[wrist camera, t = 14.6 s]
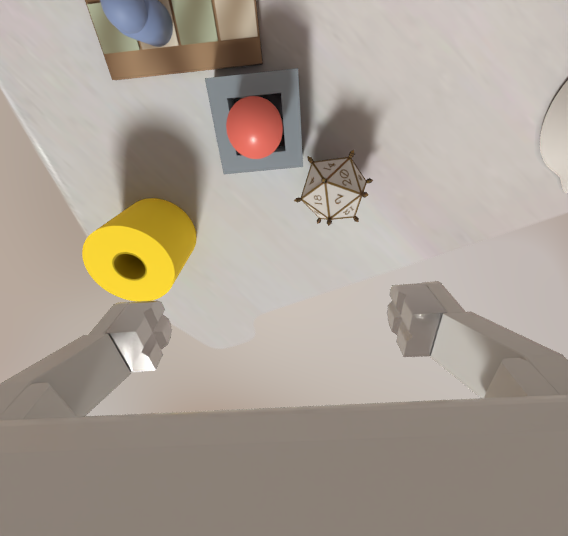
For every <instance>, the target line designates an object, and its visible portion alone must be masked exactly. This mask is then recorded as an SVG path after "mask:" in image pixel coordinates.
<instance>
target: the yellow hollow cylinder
mask: <svg viewBox="0 0 568 536" xmlns="http://www.w3.org/2000/svg"><path fill="white" fill-rule="evenodd" d="M195 244H196V231H195V227H194V225H193V223H192V221H191V219H190V218H189V217H188V215H187V214H186V213H185V212H184V211H183V210H182V209H180V208H179V207H178V206H176V205H175V204H173V203H171V202H168V201H166V200H162V199H157V198H148V199H143V200H140V201H138V202H136V203H134V204H133V205H131V206H130V207H128V208H127V209H126V210H124V211H123V212H121V213H120V214H118V215H117V216H116V217H114V218H113V219H111V220H110V221H108V222H107V223H106V224H104V225H103V226H101V227H100V228H98V229H97V230H96V231H94V232H93V233H91V234H90V235H89V236H88V238H87V239H86V241H85V243H84V245H83V251H82V255H83V261H84V265H85V267H86V269H87V271H88V273H89V274H90V275H91V277H92V278H93V279H94V280H95V281H96V283H97V284H99V285H100V286H101V287H102V288H103V289H105V290H106V291H108V292H110V293H111V294H113V295H115V296H118V297H120V298H123V299H127V300H131V301H151V300H155V299H158V298H160V297H162V296H163V295H165V294H166V293H167V292H168V291H169V290H170V288H171V287H172V285H173V283H174V282H175V280H176V278H177V277H178V275H179V273H180V272H181V270H182V268H183V266H184V265H185V263H186V261H187V260H188V258H189V256H190V255H191V253H192V251H193V250H194V247H195Z"/></svg>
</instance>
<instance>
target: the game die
mask: <svg viewBox="0 0 568 536" xmlns="http://www.w3.org/2000/svg"><path fill="white" fill-rule="evenodd" d="M353 155H355V154H354V150H353V151H351V152H350V154H349V157H345V158H337V159H330V160H322V161H315V162H314V161H313V159H312V157H309V156H308V161H309V162H310V163H311V166H310V170H309V173H308V176H307V179H306V183H305V186H304V189H303V192H302V196H301V198H296V199H295V200H294V201H296V202H297V203H298V202H300V201H303V202H304V203H305V204H306V205H307V206H308V207H309V208H310V209H311V210H312V211H313V212H314V213H315V214H316V215H317V216H318V217H319V218H318V220H317V224H318V223H320V222H321V219H327V224H328V226H329V225H330V224H331V222H332V221H331V220H333V219H343V218H352V217H353V218H354V220H355V221H356V222H359V221H358V219H359V218H357V217H356V216H355V215H356V212H357V209H358V206H359V204H360V201H361V198H362V196H363V197H366V196H368V194H367V192H364V189H365V186H366V183H371V182H372V181H373V180H372V179H370V178H369V179H367V180H365V178H364V177H363V175H362V174H361V172H360V171H359V169H358V168H357V166H356V165H355V163H354V162H353V160H352V159H351V158H352V157H353Z"/></svg>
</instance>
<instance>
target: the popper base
mask: <svg viewBox="0 0 568 536" xmlns="http://www.w3.org/2000/svg"><path fill="white" fill-rule="evenodd" d="M205 82H206V87H207V92H208V97H209V102H210V107H211V112H212V117H213V122H214V127H215V132H216V137H217V142H218V147H219V152H220V158H221V163H222V168H223V173H224V174H232V173H242V172H253V171H264V170H274V169H285V168H295V167H303V157H302V137H301V118H300V98H299V78H298V68H296V69H287V70H277V71H268V72H259V73H250V74H241V75H231V76H222V77H213V78H205ZM271 94H281V99H282V112H283V124H284V137H285V146H279V147H277V149H276V150H275V151H274V152H273V153H272V154H270V155H269V156H267V157H265V158H261V159H251V158H247V157H245V156H243V155H241V154H240V153H239V152H237V151H236V150H235V148H234V147H233V146H232V144H231V143H230V141H229V138H228V135H227V129H226V122H227V117H228V114H229V111H230V110H231V108H232V107H233V105H234V101H233V98H243V97H249V96H262V95H271Z"/></svg>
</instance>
